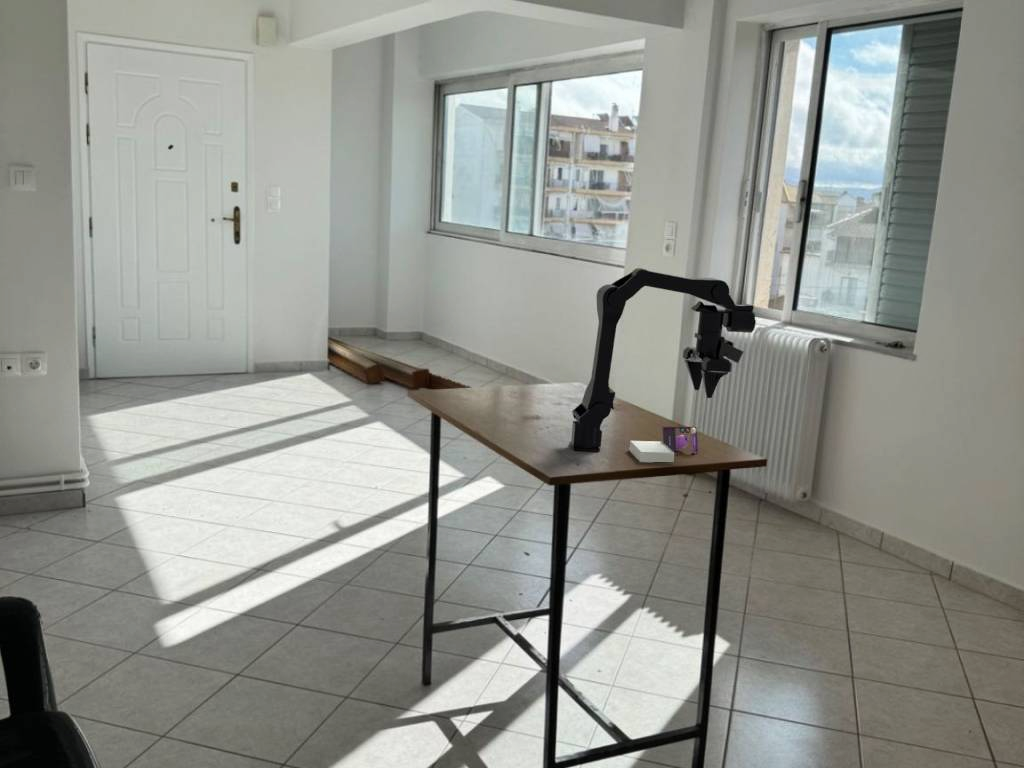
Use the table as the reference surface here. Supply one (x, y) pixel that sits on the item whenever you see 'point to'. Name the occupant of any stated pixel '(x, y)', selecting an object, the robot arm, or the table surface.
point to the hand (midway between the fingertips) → (702, 393)
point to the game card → (679, 438)
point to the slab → (651, 451)
